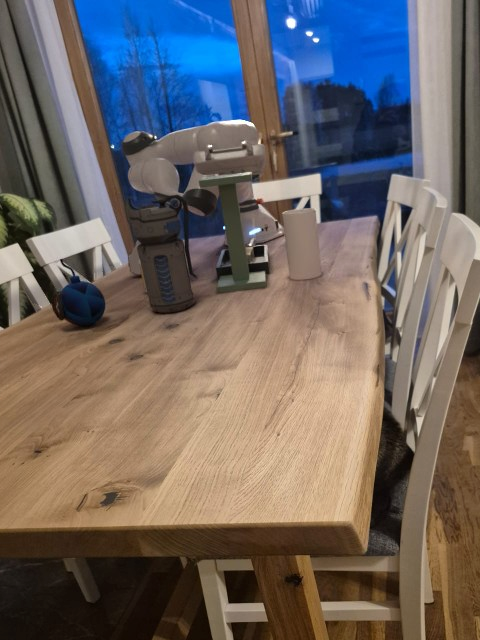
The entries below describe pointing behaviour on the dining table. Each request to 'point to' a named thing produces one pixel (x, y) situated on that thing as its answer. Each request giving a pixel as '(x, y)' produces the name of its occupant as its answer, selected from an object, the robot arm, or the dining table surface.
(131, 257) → the sculpture
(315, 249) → the cup
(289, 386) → the dining table surface
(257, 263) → the tray
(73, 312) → the bomb
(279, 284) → the dining table surface
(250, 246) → the tan rectangular bar
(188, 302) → the grenade canister
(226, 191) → the stand
